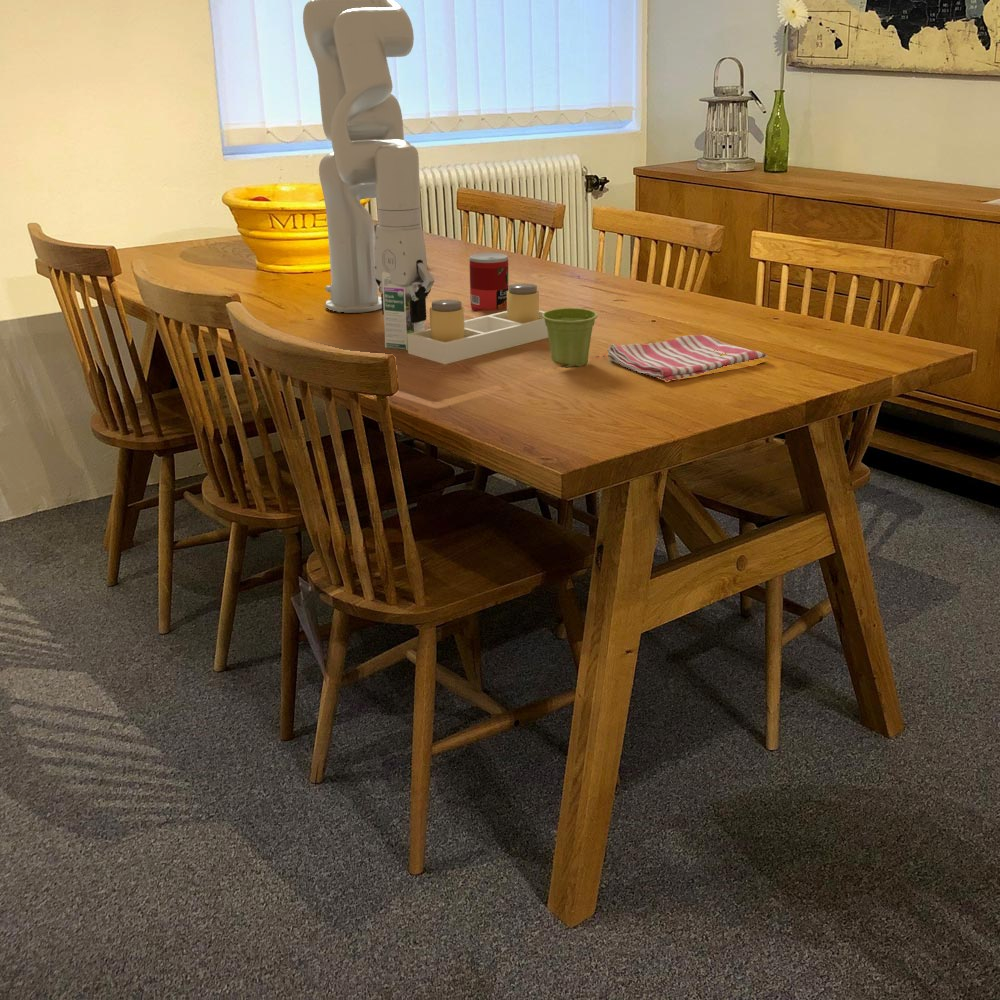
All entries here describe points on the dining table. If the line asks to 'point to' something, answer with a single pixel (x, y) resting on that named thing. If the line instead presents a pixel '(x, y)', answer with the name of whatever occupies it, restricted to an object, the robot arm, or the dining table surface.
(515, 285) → the honey jar
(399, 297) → the syrup box
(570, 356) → the plant pot
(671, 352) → the dish towel
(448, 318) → the honey jar
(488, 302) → the canned food
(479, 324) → the caddy
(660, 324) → the dining table surface
